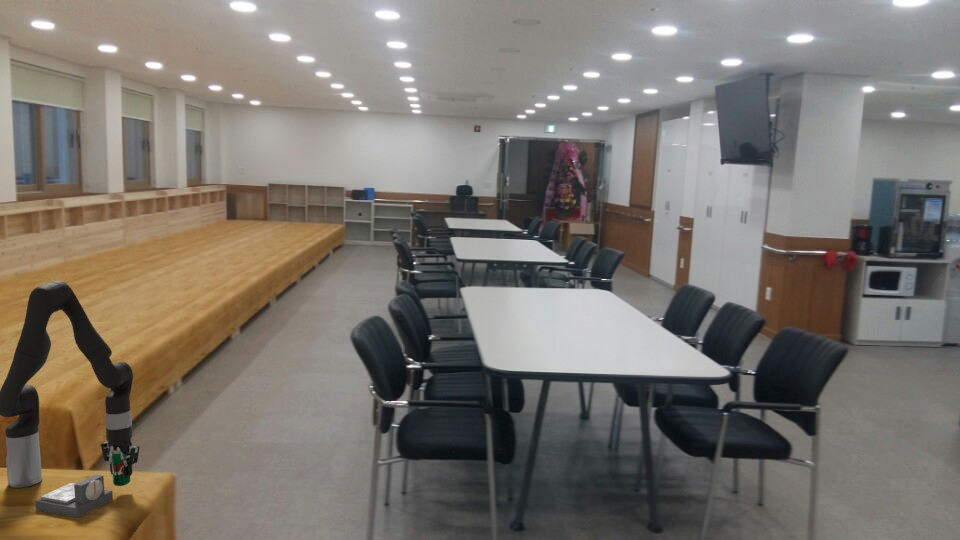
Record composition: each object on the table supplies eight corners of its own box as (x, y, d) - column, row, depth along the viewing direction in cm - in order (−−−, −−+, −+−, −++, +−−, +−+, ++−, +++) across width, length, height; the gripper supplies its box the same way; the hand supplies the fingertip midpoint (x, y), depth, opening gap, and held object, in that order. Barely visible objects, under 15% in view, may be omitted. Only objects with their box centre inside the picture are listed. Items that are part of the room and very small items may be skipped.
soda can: (133, 480, 229) (132, 445, 227) (124, 487, 224) (122, 451, 222) (119, 480, 229) (117, 445, 228) (109, 486, 224) (107, 450, 223)
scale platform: (40, 499, 215) (40, 496, 215) (71, 485, 226) (71, 482, 226) (67, 504, 212) (67, 501, 212) (97, 489, 222) (97, 486, 222)
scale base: (35, 510, 215) (33, 482, 214) (72, 493, 227) (70, 466, 226) (78, 518, 210) (76, 489, 209) (113, 500, 222) (112, 473, 221)
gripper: (91, 425, 223) (94, 476, 225) (127, 431, 218) (129, 482, 220) (110, 418, 230) (113, 467, 232) (145, 423, 225) (147, 473, 227)
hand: (121, 474), depth 226 cm, fingers closed on soda can, 5 cm apart
